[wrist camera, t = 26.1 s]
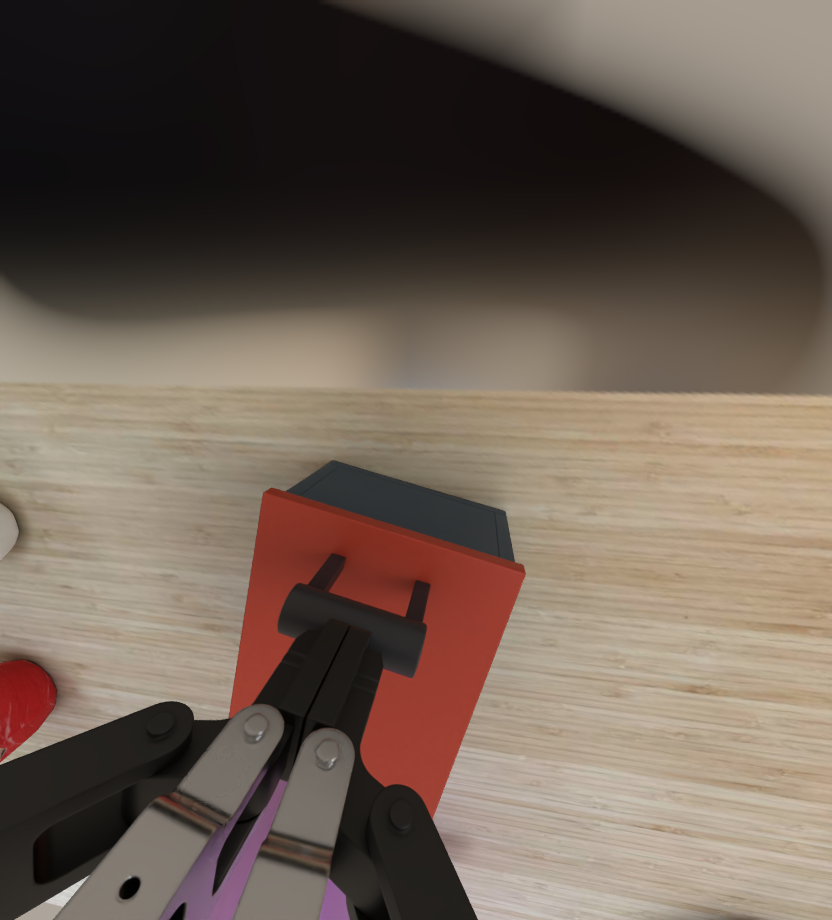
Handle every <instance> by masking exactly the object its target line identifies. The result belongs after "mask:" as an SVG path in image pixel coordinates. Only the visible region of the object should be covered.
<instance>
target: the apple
mask: <svg viewBox="0 0 832 920" xmlns="http://www.w3.org/2000/svg"><path fill="white" fill-rule="evenodd" d="M18 534H19V530H18V526H17V523H16V520H15V517H14V515H13V514H12V512H11V511H10V510H9V509H8V508H6V507H5V506H4V505H3V504H1V503H0V560H1V559H2V558H3V557H4V556H5V555H6V554H7V553H8V552H9V551H10V550H11V549H12V548H13V546H14V545H15V543H16V540H17V538H18Z"/></svg>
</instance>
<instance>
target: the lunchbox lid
mask: <svg viewBox="0 0 832 920" xmlns="http://www.w3.org/2000/svg"><path fill="white" fill-rule="evenodd" d="M525 575H526V573H525V569H524V565H522V564H519V563H515V562H512V561H509V560H506V559H502V558H499V557H496V556H493V555H489V554H486V553H483V552H480V551H476V550H473V549H470V548H467V547H463V546H460V545H457V544H454V543H450V542H447V541H444V540H441V539H437V538H434V537H431V536H428V535H425V534H421V533H418V532H415V531H412V530H408V529H405V528H402V527H399V526H395V525H392V524H389V523H386V522H382V521H379V520H376V519H373V518H369V517H366V516H363V515H360V514H356V513H353V512H350V511H347V510H343V509H340V508H337V507H334V506H330V505H327V504H324V503H321V502H317V501H314V500H311V499H308V498H304V497H301V496H298V495H295V494H291V493H288V492H285V491H282V490H278V489H275V488H270V489H268V490H267V491H265V492H264V493H263V497H262V504H261V510H260V517H259V523H258V530H257V536H256V543H255V549H254V556H253V562H252V569H251V575H250V582H249V589H248V595H247V602H246V608H245V615H244V621H243V628H242V634H241V641H240V647H239V654H238V660H237V667H236V673H235V680H234V686H233V693H232V699H231V706H230V712H229V718H232V717H233V716H234V715H235V714H236V713H237V712H238V711H240V710H241V709H243V708H245V707H247V706H250V705H252V703H253V702H254V701H255V699H256V698H257V696H258V695H259V693H260V692H261V690H262V689H263V687H264V686H265V684H266V683H267V681H268V680H269V678H270V677H271V675H272V674H273V672H274V671H275V669H276V668H277V666H278V665H279V663H281V660H282V659H283V657H284V656H285V654H286V653H287V652H288V650H289V648H290V647H291V645H292V643H293V642H294V640H295V639H296V638H297V637H298V636H300V635H301V634H302V633H304V632H305V631H307V630H308V629H311V630H314V631H317V632H320V633H321V632H322V630H323V628H324V627H325V625H326V623H327V621H328V620H329V619H330V618H331V619H334V620H337V621H340V622H343V623H346V624H349V625H350V627H351V625H353V626H356V627H359V628H362V629H365V630H368V631H371V632H372V634H371V638H370V642H369V645H368V649H371V650H374V651H377V652H380V653H381V654H382V660H383V666H384V668H383V671H382V675H381V678H380V682H379V685H378V689H377V692H376V696H375V699H374V703H373V706H372V709H371V712H370V716H369V719H368V722H367V726H366V729H365V732H364V735H363V739H362V742H361V745H360V752H361V758H362V761H363V763H364V765H365V767H366V769H367V770H368V772H369V773H370V774H371V775H372V776H373V777H374V778H375V779H376V780H377V781H378V782H380V783H381V784H382V785H383V786H384V787H387V786H389V785H392V784H402V785H405V786H408V787H410V788H412V789H413V790H414V791H416V792H417V793H418V794H419V795H420V797H421V798H422V799H423V801H424V803H425V805H426V807H427V809H428V811H429V813H430V816H431V818H432V819H433V816H434V814H435V811H436V808H437V806H438V803H439V800H440V798H441V795H442V793H443V790H444V787H445V785H446V782H447V779H448V777H449V774H450V772H451V769H452V766H453V764H454V761H455V758H456V756H457V753H458V751H459V748H460V745H461V743H462V740H463V737H464V735H465V732H466V730H467V727H468V724H469V722H470V719H471V717H472V714H473V711H474V709H475V706H476V703H477V701H478V698H479V696H480V693H481V690H482V688H483V685H484V682H485V680H486V677H487V675H488V672H489V669H490V667H491V664H492V661H493V659H494V656H495V654H496V651H497V648H498V646H499V643H500V640H501V638H502V635H503V633H504V630H505V627H506V625H507V622H508V619H509V617H510V614H511V612H512V609H513V606H514V604H515V601H516V598H517V596H518V593H519V591H520V588H521V585H522V583H523V580H524V578H525Z"/></svg>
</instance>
